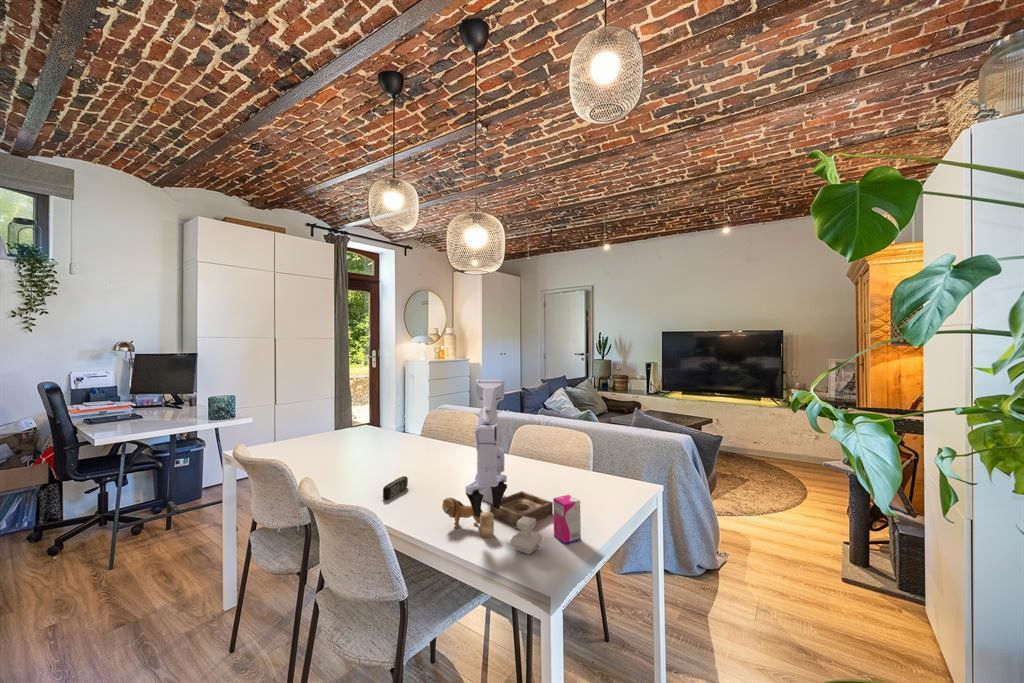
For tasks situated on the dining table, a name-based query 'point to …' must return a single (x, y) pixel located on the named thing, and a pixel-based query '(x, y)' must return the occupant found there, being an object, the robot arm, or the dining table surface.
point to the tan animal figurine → (458, 511)
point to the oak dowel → (487, 525)
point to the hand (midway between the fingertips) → (486, 511)
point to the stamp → (526, 536)
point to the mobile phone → (395, 487)
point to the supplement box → (567, 519)
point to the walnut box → (522, 508)
